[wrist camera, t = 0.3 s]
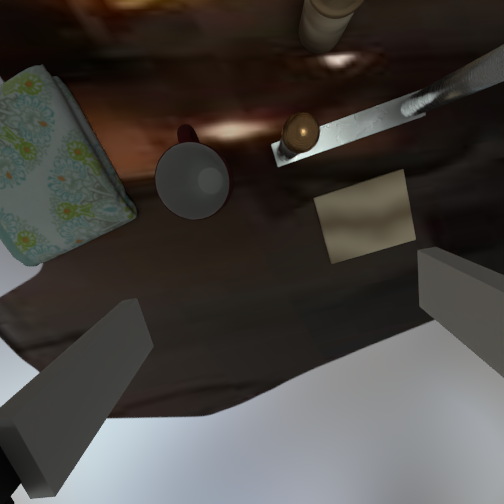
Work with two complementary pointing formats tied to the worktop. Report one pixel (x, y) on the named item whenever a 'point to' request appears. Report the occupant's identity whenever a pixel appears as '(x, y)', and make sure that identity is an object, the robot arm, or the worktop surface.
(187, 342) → the worktop surface
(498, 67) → the grey piece
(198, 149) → the mug
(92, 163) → the towel
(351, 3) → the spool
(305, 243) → the worktop surface
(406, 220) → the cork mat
